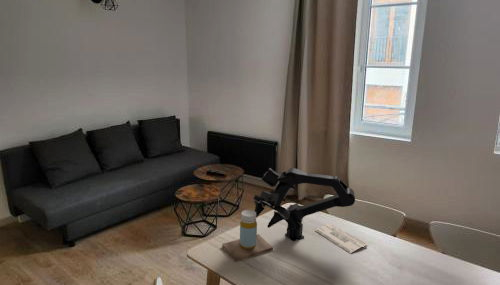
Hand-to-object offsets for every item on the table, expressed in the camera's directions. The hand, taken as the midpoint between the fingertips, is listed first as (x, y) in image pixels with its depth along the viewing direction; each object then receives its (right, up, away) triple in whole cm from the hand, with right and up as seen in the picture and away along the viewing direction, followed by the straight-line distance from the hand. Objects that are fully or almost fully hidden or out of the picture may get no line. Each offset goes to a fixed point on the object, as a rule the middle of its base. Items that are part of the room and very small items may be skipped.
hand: (260, 223), depth 148 cm
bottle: (-5, -9, -1) cm, 11 cm away
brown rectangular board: (-6, -11, -1) cm, 12 cm away
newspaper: (+37, -10, +10) cm, 39 cm away
